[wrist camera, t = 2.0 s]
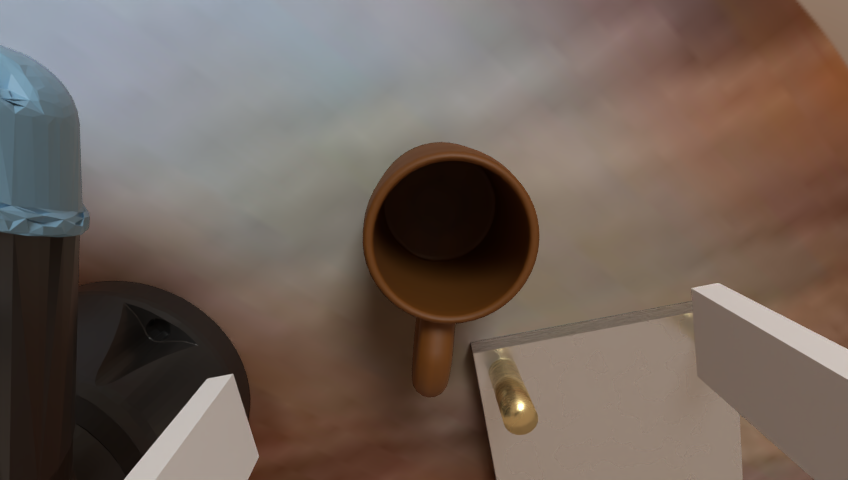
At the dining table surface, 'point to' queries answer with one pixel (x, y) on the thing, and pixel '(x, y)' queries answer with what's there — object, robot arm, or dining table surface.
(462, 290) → the mug
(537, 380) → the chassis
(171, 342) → the robot arm
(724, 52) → the dining table surface
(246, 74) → the dining table surface
